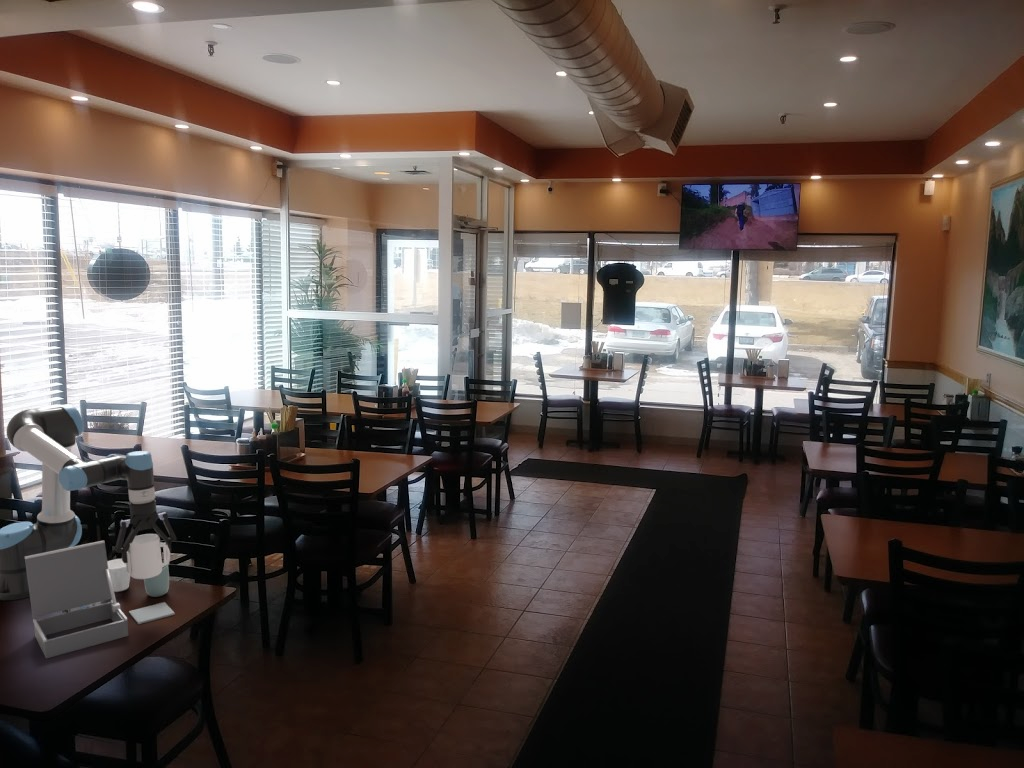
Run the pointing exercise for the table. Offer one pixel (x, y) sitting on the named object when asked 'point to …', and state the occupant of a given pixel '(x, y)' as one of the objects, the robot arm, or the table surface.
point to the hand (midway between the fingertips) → (148, 567)
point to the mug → (147, 556)
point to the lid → (67, 578)
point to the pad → (151, 613)
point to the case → (80, 619)
